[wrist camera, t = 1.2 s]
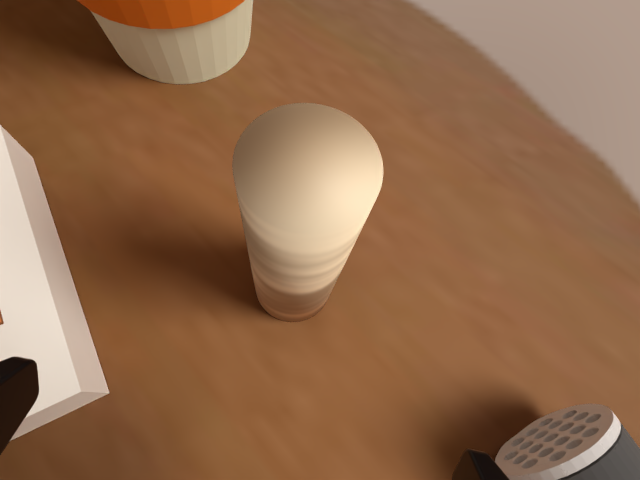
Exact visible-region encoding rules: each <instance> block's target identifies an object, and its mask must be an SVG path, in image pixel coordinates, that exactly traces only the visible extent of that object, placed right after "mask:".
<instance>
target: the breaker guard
mask: <svg viewBox="0 0 640 480" xmlns="http://www.w3.org/2000/svg"><path fill="white" fill-rule="evenodd" d="M0 310H1V314H2V318H3V322H4V324H2V325H0V361H2V360H5V359H7V358H10V357H14V356H18V357H23V358H28V359H32V360H34V361H35V362H36V363H37V370H38V381H39V395H38V398H37V400H36V402H35V403H34V405H33V407H32V408H31V410H30V411H29V413H28V414H27V416H26V417H25V419H24V420H23V422H22V423H21V425H20V426H19V428H18V429H17V431H16V432H15V434H14V435H13V437H12V438H11V440H13V439H15V438H17V437H19V436H21V435H24V434H26V433H28V432H30V431H32V430H34V429H36V428H38V427H40V426H42V425H44V424H46V423H49V422H51V421H53V420H55V419H57V418H59V417H61V416H63V415H65V414H67V413H69V412H71V411H73V410H76V409H78V408H80V407H82V406H84V405H86V404H88V403H90V402H92V401H94V400H96V399H98V398H101V397H103V396H105V395H107V394H109V390H108V387H107V384H106V381H105V378H104V374H103V371H102V368H101V365H100V362H99V359H98V356H97V353H96V350H95V347H94V344H93V341H92V338H91V335H90V331H89V328H88V325H87V322H86V319H85V316H84V313H83V310H82V307H81V304H80V301H79V298H78V295H77V292H76V288H75V285H74V282H73V279H72V276H71V273H70V270H69V267H68V264H67V261H66V258H65V255H64V252H63V249H62V245H61V242H60V239H59V236H58V233H57V230H56V227H55V224H54V221H53V218H52V215H51V212H50V209H49V206H48V202H47V199H46V196H45V193H44V190H43V187H42V184H41V181H40V178H39V175H38V172H37V169H36V166H35V163H34V159H33V157H32V156H31V155H30V154H29V153H28V152H27V151H26V150H25V149H24V148H23V147H22V146H21V145H20V144H19V143H18V142H17V141H16V140H15V139H14V138H13V137H12V136H11V135H10V134H9V133H8V132H7V131H6V130H5V129H4V128H3V127H2V126H1V125H0ZM11 440H10V441H11Z"/></svg>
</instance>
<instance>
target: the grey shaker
mask: <svg viewBox="0 0 640 480" xmlns="http://www.w3.org/2000/svg"><path fill="white" fill-rule="evenodd" d="M495 463H496V464H497V465H498V466H499V467H500V469H501V470H502V471H503V472H504V473H505V474H506V476H507V477H508V478H509V479H510V480H640V448H639V447H638V446H637V444H636V443H635V441H634V440H633V439H632V437H631V436H630V435H629V433H628V432H627V431H626V429H625V428H624V427H623V425H622V424H621V423H620V421H619V420H618V418H617V417H616V416H615V414H614V413H613V412H612V410H611V409H610V408H608V407H607V406H604V405H600V404H582V405H575V406H572V407H568V408H565V409H562V410H558V411H555V412H552V413H550V414H548V415H545V416H543V417H541V418H539V419H537V420H535V421H534V422H532V423H531V424H529V425H528V426H527V427H525V428H524V429H523V430H521V431H520V432H519V433H518V434H516V435H515V436H514V437H512V438H511V439H510V440H508V441H507V442H506V443H505V444H504V445H503V446H502V447H501V448H500V450H499V452H498V454H497V456H496V458H495Z"/></svg>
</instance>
